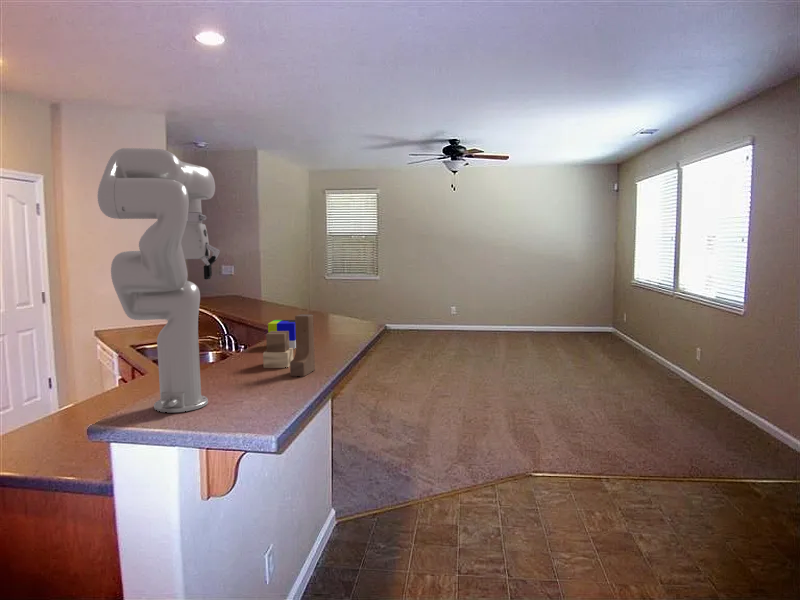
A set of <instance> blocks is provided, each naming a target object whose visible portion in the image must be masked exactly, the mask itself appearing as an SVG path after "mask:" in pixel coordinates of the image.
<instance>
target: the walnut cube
mask: <svg viewBox="0 0 800 600" xmlns="http://www.w3.org/2000/svg"><path fill="white" fill-rule="evenodd" d="M265 337H266V338H265V339H266V341H265V342H266V350H267V352H286V351H287V350H288V349H289V331H271V332H269V333H268V332H267V333H266V334H265Z"/></svg>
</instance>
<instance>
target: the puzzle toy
mask: <svg viewBox="0 0 800 600" xmlns="http://www.w3.org/2000/svg"><path fill="white" fill-rule="evenodd" d="M267 330H268V331H267V333H269V332H271V331H289V348H293V350H296V349H295V348H296V331H295V319H274V320H272V321H270V322H268V323H267Z"/></svg>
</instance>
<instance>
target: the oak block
mask: <svg viewBox="0 0 800 600" xmlns="http://www.w3.org/2000/svg"><path fill="white" fill-rule="evenodd" d="M262 359H263V360H262V361H263V362H262V363H263V369H287V367H288V368H290V362H291V361H292V360H293V359H294V349H293V348H289V349H288V350H287V351H286V352H267V349H266V350H265V351H264V352H262ZM285 367H286V368H285Z"/></svg>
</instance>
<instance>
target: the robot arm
mask: <svg viewBox="0 0 800 600" xmlns="http://www.w3.org/2000/svg"><path fill="white" fill-rule="evenodd" d="M103 171H104V172H103V174H102V176H101V179H100V181H99V185H98V189H97V205H98V207H99V209H100V211H101V212H102V214H104V216H106V217H108V218H110V219H115V220H116V219H117V220H119V219H120V220H125V219H127V220H135V219H136V220H138V219H139V220H141V219H142V220H148V219H151V220H154V219H156V221H155V222H154V223H153V224H151V225H150V226H148V228H147V229H146V231H144V233H143V234H142V235H141V237H140V239H139V241H138V247H139V250H129V251H127V250H126V251H122V252H120V253H117V254H116V255H115V256H114V257H113V259H112V262H111V266H110V277H111V282H112V285H113V288H114V290H115V292H116V295H117V297H118V300H119V302H120V305H121V307H122V309H123V311H124V314H125V315H126V316H127V317H128V318H129V319H131V320H135V321H136V320H137V321H148V320H149V321H150V320H152V321H153V320H155V321H156V320H165V321H167V322H166V323H165V325H164V326H163V328H162V329H161V330H160V331H159V332H158V335H157V337H156V345H157V346H156V347H157V362H158V383H159V396H160V397H159V400H156V401H155V403H154V404H153V409H154V411H156V410H157V411H156V412H159V411H160V412H159V413H165V412H167V414H168V413H169V414H171V413H172V414H174V413H185V411H186V412H191V411H195V410H198V409H202V408H203V407H205V406H206V405H207V404H208V403H209V399H208V397H207V396H205V395H202V386H201V383H202V382H201V367H200V348H199V347H200V345H199V344H200V343H199V313H200V303H201V291H200V288H199V286H198V285H197V284H195V283H194V282H192V281H190V280H188V274H189V273H188V267H187V263H186V260H201V261H202V262H203V263H204V265H203V279H204V280H211V277H212V275H213V273H212V271H213V269H212V265H213V264H214V263H215V262H216V260H217V259H218V257H219V256H220V255H219V254H220V252H221V250H220V249H219V248H217V247H214V246H212V245H211V244H210V243H209V235H208V230H207V226H206V224H204V223H203V222H204V221H206V220H207V215H205V214H203V211H202V210H203V209H202V201H203V200H204V201H207V200H210V199H212V198H213V197H214V195H215V193H216V183H215V179H214V175H213V174H212V172H211V171H210V170H209V168H207V167H204V166H200V165H197V164H193V163H189V162H185V161H181V160H180V159H179V158H178V157H177V156H176V154H174V153H172V152H171V151H169V150H167V149H161V148H142V147H141V148H135V147H134V148H133V147H131V148H130V147H126V148H125V147H123V148H119V149H117V150H115V152H113V154H112V155H111V156H110V157H109V159H108V161H107V164H106V166H105V169H104V170H103ZM211 252H212V255H211ZM210 256H211V257H210Z"/></svg>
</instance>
